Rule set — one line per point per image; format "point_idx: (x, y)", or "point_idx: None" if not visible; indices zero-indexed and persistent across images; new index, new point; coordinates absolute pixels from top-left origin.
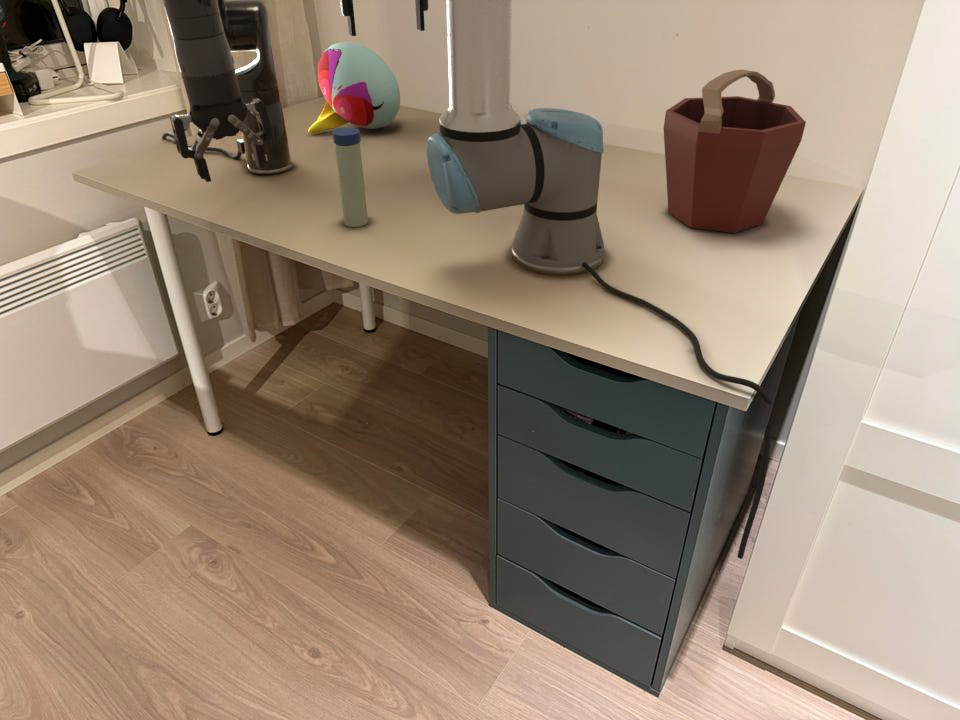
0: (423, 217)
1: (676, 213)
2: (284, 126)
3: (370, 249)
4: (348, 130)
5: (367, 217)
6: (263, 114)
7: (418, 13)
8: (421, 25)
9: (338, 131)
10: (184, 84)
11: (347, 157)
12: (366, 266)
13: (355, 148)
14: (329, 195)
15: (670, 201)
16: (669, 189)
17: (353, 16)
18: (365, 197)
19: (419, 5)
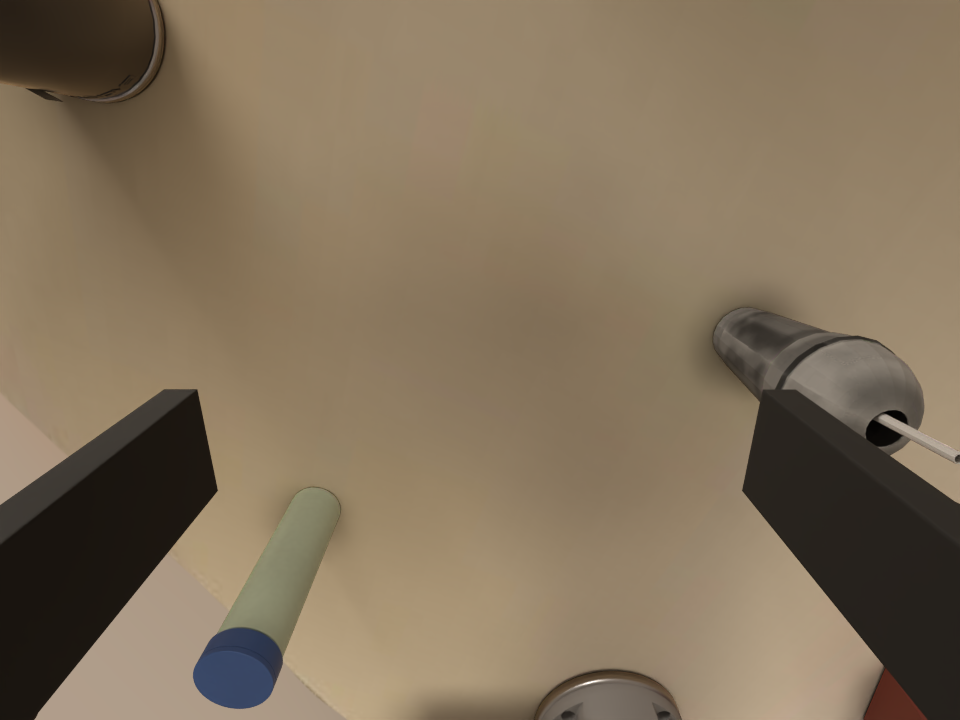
0: (454, 531)
1: (882, 695)
2: (59, 17)
3: (325, 614)
4: (241, 676)
5: (337, 520)
6: None
7: (826, 533)
8: (767, 516)
9: (211, 675)
10: None
11: None
12: (308, 661)
13: None
14: (272, 340)
15: (897, 695)
16: (913, 716)
17: (125, 595)
18: (325, 549)
19: (871, 636)
